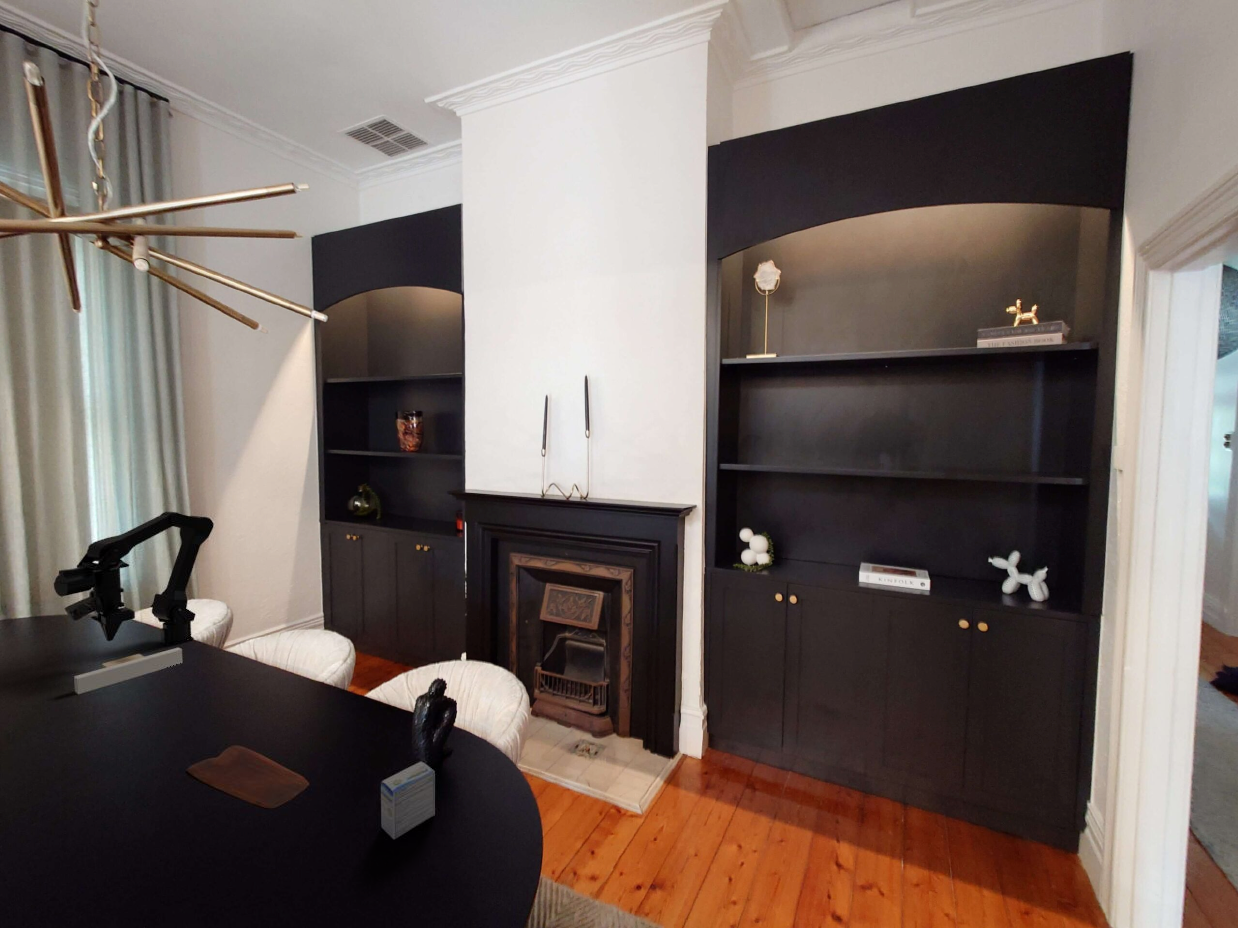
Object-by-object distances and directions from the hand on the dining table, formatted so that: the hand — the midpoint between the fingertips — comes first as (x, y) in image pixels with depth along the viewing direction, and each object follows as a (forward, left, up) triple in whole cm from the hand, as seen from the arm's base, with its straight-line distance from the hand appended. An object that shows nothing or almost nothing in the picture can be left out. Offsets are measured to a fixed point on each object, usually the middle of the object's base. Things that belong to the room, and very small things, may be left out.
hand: (109, 640), depth 157 cm
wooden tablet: (+4, +86, -8) cm, 86 cm away
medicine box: (-5, +122, -7) cm, 122 cm away
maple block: (0, +10, -7) cm, 12 cm away
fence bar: (0, +14, -7) cm, 16 cm away
